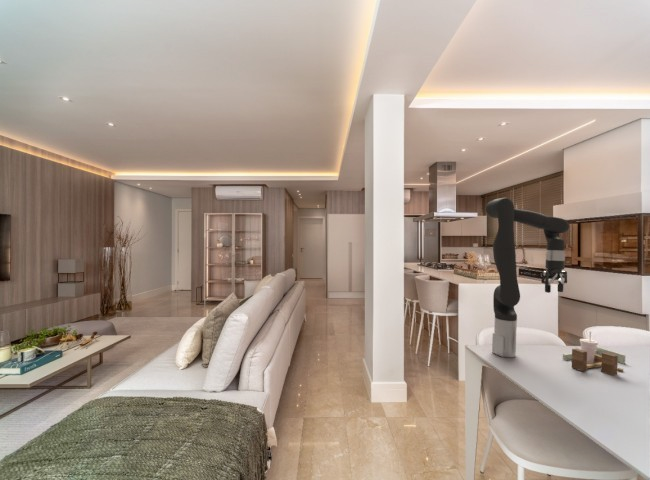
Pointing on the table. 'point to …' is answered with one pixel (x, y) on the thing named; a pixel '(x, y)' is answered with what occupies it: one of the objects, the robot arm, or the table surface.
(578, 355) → the wooden mallet
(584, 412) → the table surface
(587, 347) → the smoothie
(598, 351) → the frame
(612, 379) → the table surface
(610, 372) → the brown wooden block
